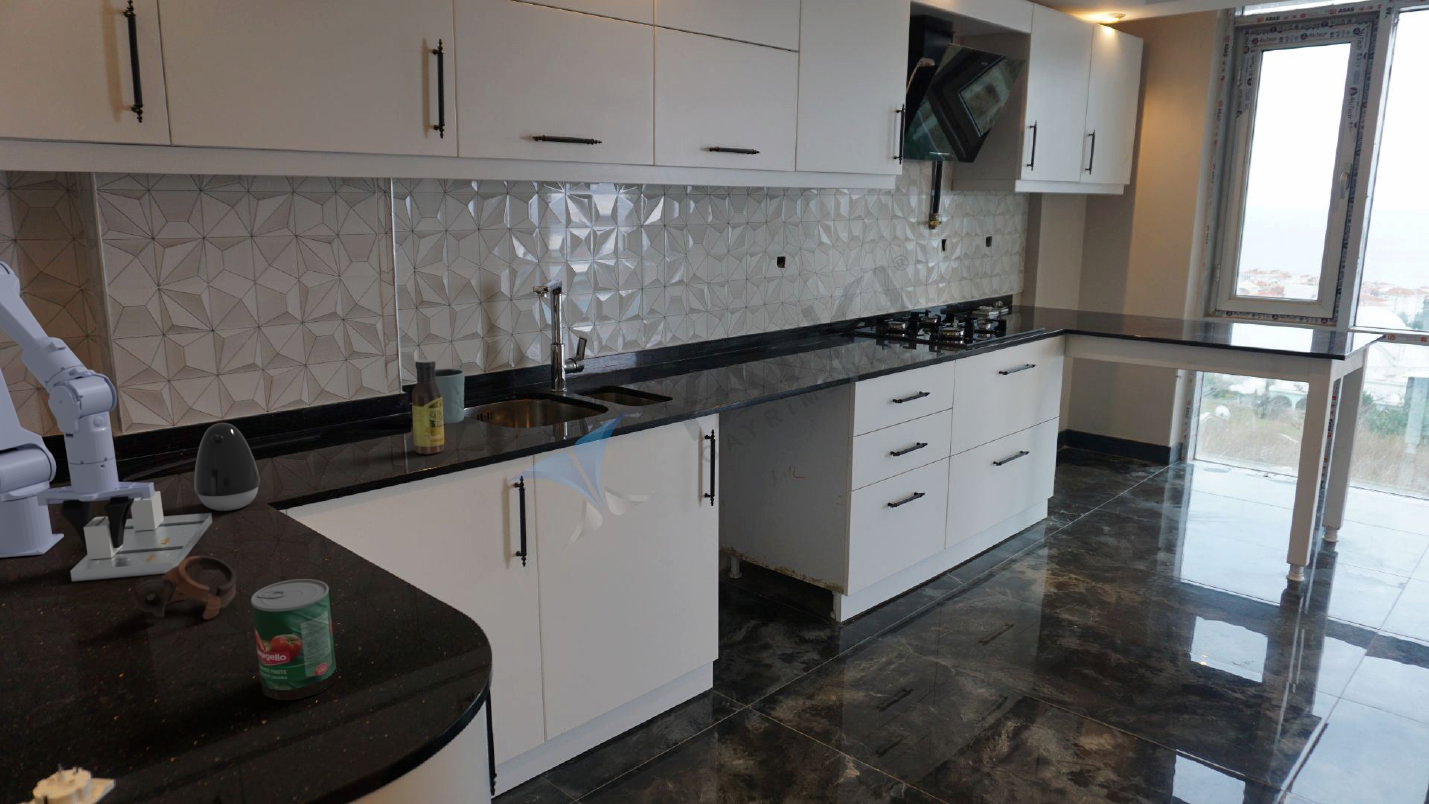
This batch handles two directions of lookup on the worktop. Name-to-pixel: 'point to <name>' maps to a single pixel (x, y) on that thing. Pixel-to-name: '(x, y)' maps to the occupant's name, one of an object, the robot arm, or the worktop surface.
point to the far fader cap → (147, 512)
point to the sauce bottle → (427, 410)
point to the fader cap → (99, 539)
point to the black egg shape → (225, 469)
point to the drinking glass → (451, 393)
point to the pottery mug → (187, 587)
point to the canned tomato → (293, 633)
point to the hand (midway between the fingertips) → (104, 546)
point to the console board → (147, 549)
